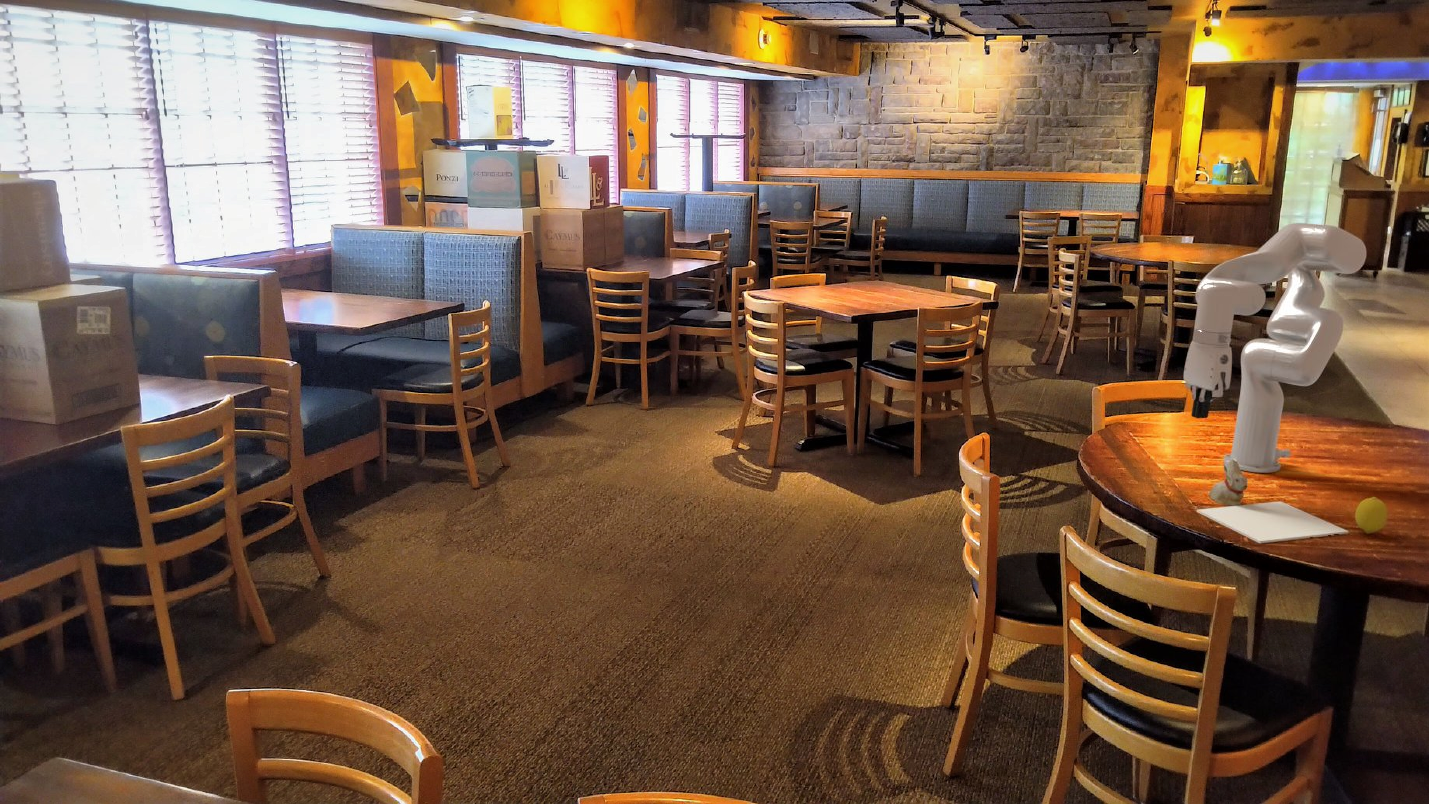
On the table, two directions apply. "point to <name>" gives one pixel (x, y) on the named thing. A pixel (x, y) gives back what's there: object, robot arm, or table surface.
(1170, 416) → the table surface
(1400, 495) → the table surface
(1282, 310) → the robot arm
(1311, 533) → the mat
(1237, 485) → the chocolate bunny
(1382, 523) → the lemon
